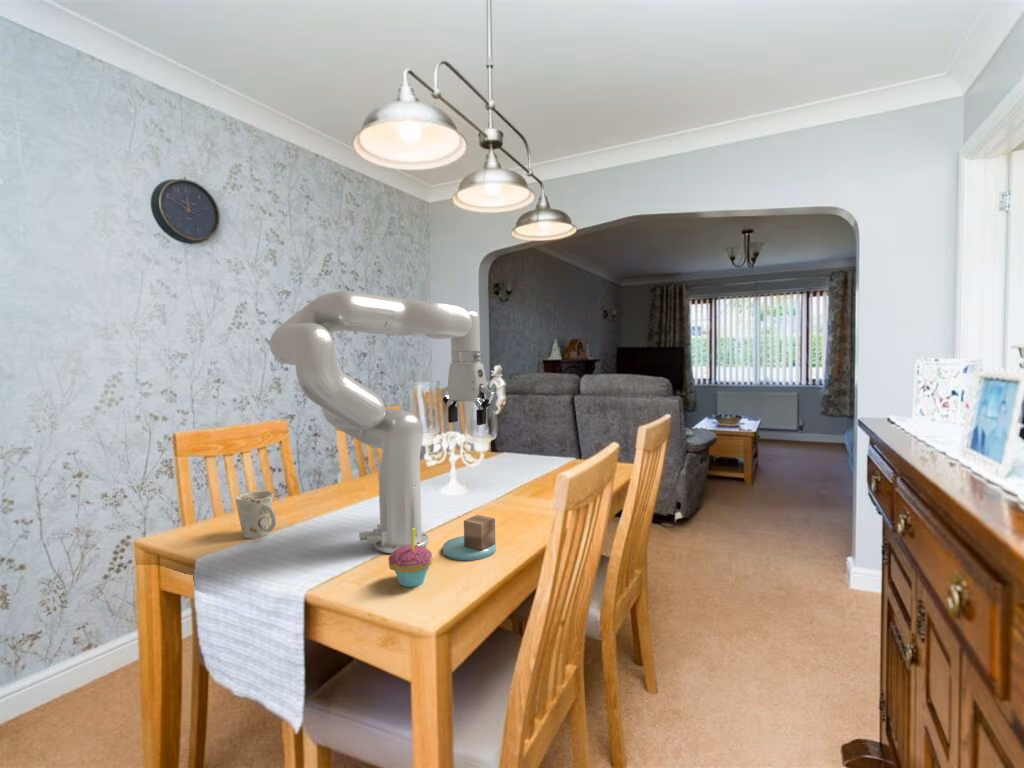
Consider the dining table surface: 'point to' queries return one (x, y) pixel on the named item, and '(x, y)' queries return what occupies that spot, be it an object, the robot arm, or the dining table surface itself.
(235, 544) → the dining table surface
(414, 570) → the cupcake
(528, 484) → the dining table surface
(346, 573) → the dining table surface
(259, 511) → the mug
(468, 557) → the teal dish
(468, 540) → the walnut block
